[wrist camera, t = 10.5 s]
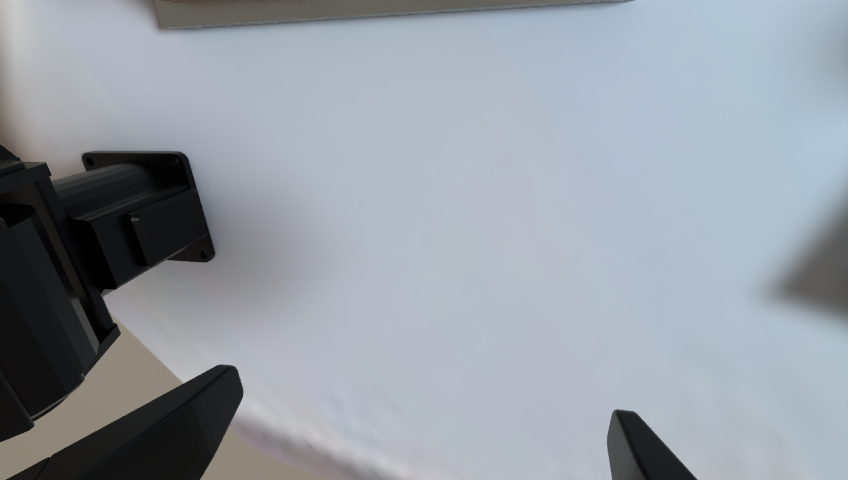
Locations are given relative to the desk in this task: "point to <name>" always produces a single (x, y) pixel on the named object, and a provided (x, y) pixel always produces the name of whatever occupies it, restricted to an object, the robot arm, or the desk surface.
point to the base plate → (319, 10)
